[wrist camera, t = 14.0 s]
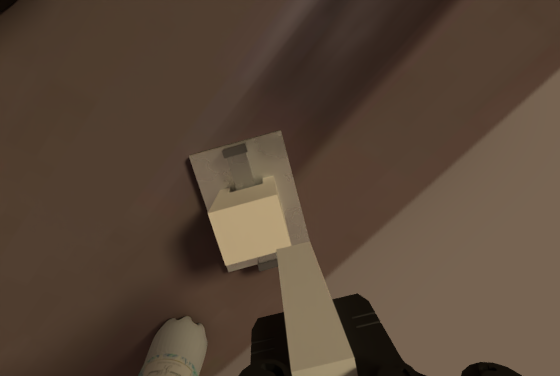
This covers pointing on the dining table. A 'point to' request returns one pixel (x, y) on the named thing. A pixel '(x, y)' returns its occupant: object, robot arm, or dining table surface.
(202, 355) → the bottle
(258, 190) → the block
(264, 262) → the rail board
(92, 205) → the dining table surface
